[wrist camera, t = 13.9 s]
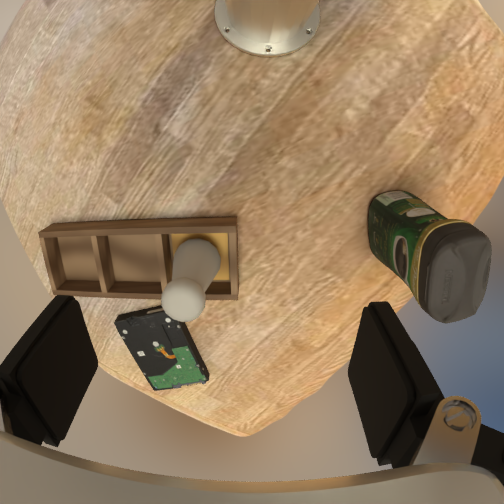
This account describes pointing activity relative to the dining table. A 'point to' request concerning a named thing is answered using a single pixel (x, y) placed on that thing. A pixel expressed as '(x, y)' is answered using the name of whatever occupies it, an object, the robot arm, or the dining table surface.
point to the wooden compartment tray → (134, 256)
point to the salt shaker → (190, 279)
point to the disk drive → (162, 348)
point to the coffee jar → (431, 254)
